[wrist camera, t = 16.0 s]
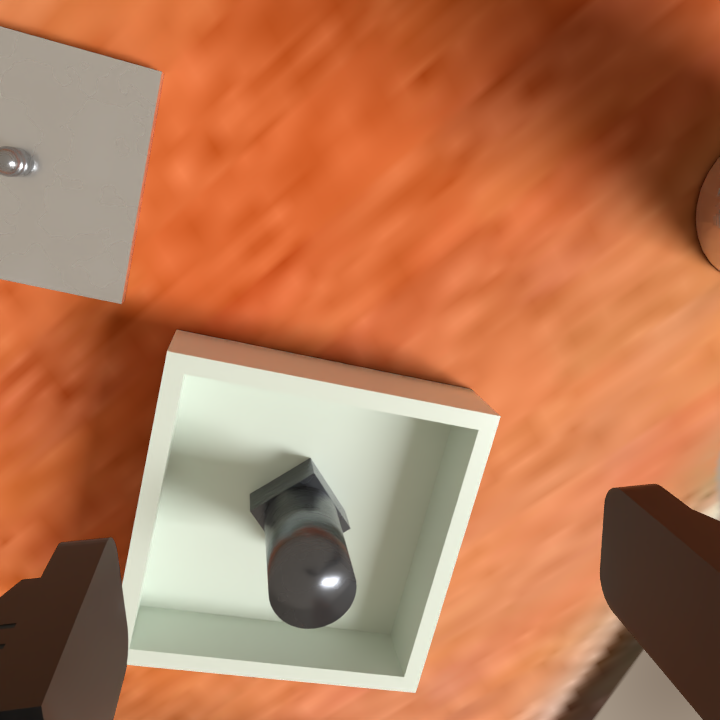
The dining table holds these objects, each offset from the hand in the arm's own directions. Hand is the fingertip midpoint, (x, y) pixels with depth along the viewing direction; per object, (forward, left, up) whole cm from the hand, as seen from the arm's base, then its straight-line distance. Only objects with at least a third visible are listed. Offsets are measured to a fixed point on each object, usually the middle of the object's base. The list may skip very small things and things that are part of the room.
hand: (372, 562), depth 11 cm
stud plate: (+14, -3, -29) cm, 33 cm away
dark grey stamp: (-4, +12, -28) cm, 31 cm away
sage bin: (-4, +13, -29) cm, 32 cm away
